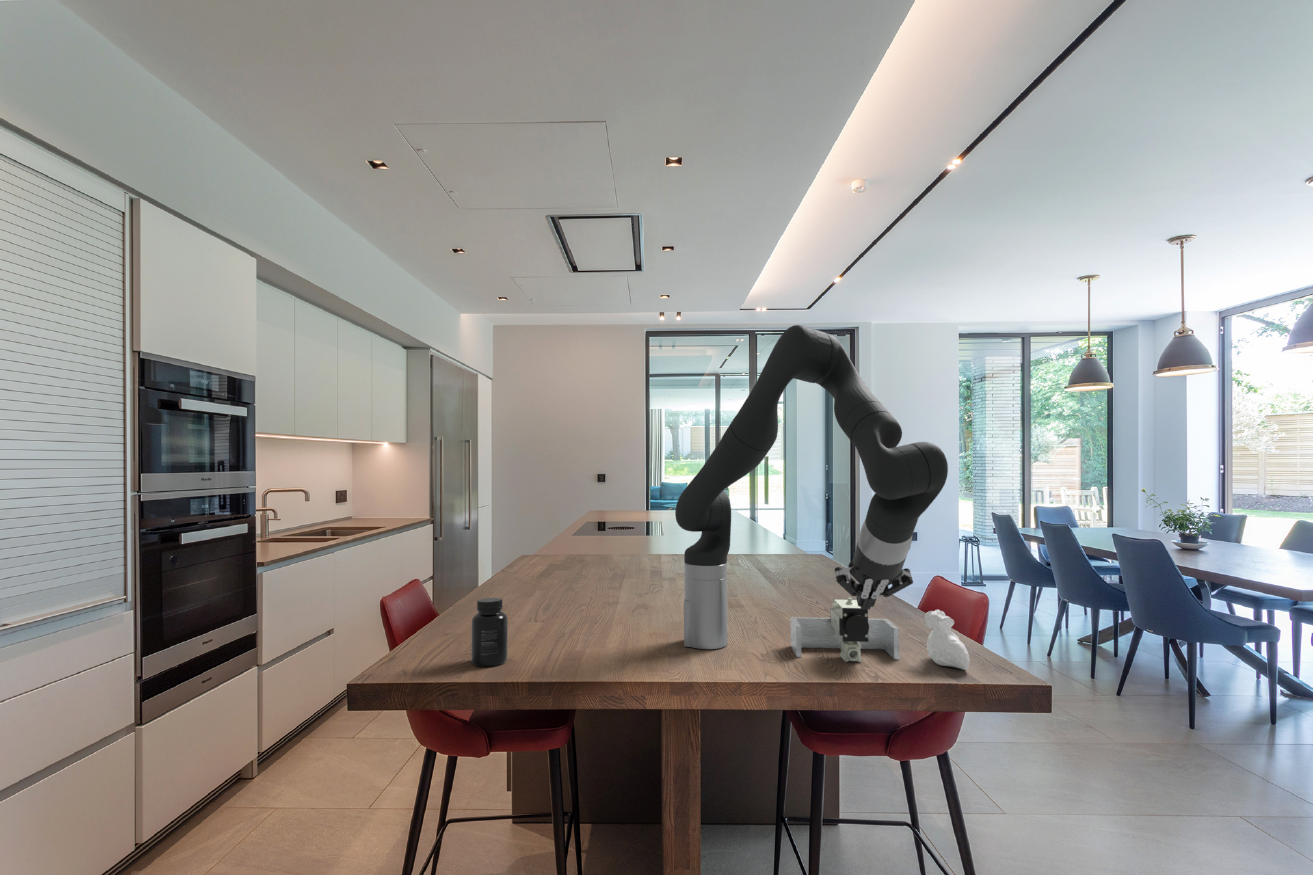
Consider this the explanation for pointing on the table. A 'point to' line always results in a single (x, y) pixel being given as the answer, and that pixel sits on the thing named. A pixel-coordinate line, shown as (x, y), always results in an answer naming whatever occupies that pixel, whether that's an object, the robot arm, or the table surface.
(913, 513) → the robot arm
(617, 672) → the table surface
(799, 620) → the cradle
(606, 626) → the table surface
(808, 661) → the table surface
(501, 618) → the supplement bottle
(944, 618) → the bust
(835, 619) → the pneumatic valve
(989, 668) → the table surface
